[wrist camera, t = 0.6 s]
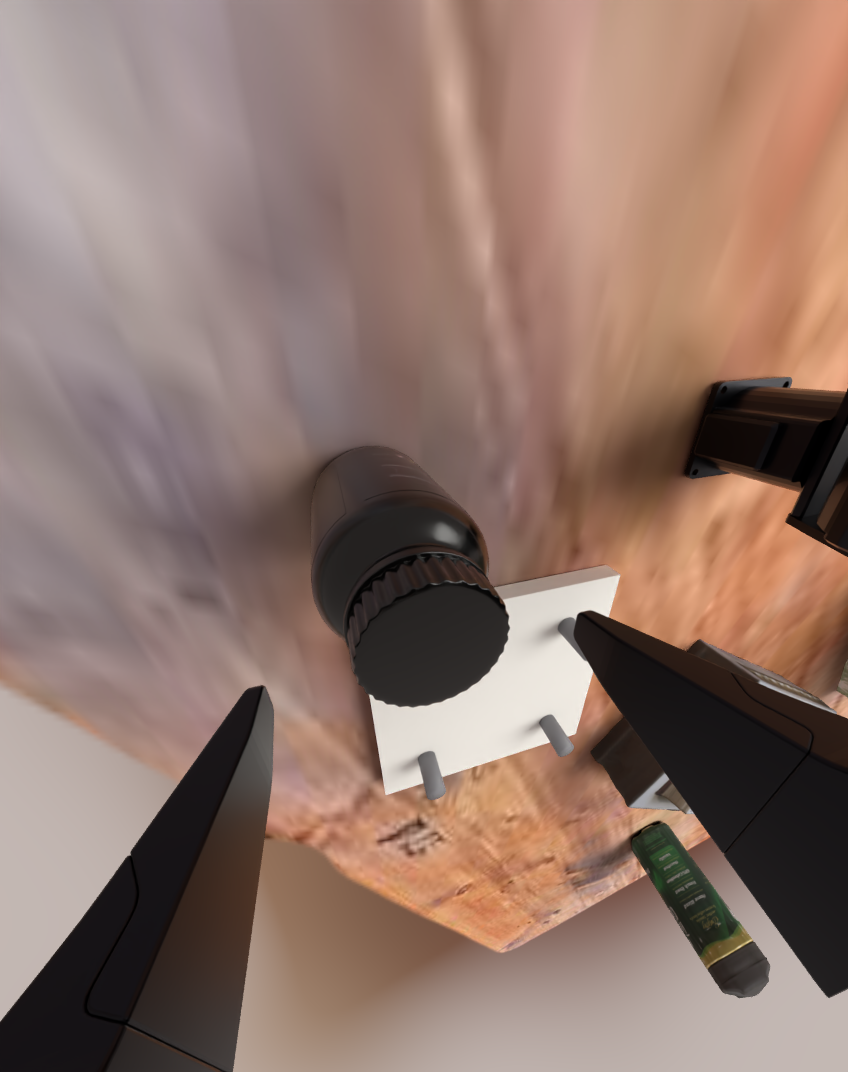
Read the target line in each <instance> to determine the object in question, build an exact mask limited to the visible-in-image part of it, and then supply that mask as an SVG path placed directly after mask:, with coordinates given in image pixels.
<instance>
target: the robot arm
mask: <svg viewBox="0 0 848 1072" xmlns="http://www.w3.org/2000/svg"><path fill="white" fill-rule="evenodd" d="M791 384H792V378H791V377H774V378H760V379H746V380H732V381H720V382H717V383H716V384H715V385H714V387H713V388H712V391H711V394H710V397H709V400H708V403H707V406H706V409H705V412H704V415H703V418H702V421H701V424H700V427H699V430H698V433H697V436H696V439H695V442H694V445H693V448H692V451H691V454H690V457H689V460H688V463H687V466H686V469H685V473H684V475H685V476H686V477H688V478H691V479H695V478H702V477H708V476H715V475H722V474H729V473H733V474H736V475H740V476H743V477H747V478H751V479H754V480H758V481H761V482H765V483H768V484H772V485H776V486H779V487H783V488H786V489H790V490H793V491H797V492H800V495H799V497H798V499H797V501H796V503H795V505H794V508H793V510H792V512H791V513H789V514H788V516H787V518H786V521H785V522H786V523H787V524H789V525H791V526H793V527H795V528H796V529H798V530H800V531H801V532H803V533H805V534H807V535H808V536H810V537H812V538H814V539H816V540H818V541H819V542H821V543H823V544H825V545H827V546H828V547H830V548H832V549H834V550H836V551H838V552H839V553H841V554H843V555H845V556H847V557H848V389H847V392H842V391H827V390H812V389H796V388H790V386H791ZM573 636H574V639H575V641H576V643H577V645H578V646H579V648H580V650H581V651H582V653H583V655H584V657H585V658H586V660H587V662H588V663H589V665H590V667H591V668H592V670H593V672H594V674H595V675H596V677H597V679H598V680H599V682H600V683H601V685H602V686H603V688H604V689H605V691H606V692H607V694H608V695H609V696H610V698H611V699H612V701H613V702H614V703H615V705H616V706H617V708H618V709H619V710H620V712H621V713H622V714H623V716H624V717H625V719H626V720H627V721H628V723H629V724H630V726H631V727H632V728H633V730H634V731H635V732H636V734H637V735H638V737H639V738H640V739H641V741H642V742H643V744H644V745H645V746H646V748H647V749H648V750H649V752H650V753H651V755H652V756H653V757H654V759H655V760H656V762H657V763H658V764H659V766H660V767H661V768H662V770H663V771H664V773H665V774H666V775H667V777H668V778H669V780H670V781H671V782H672V784H673V785H674V787H675V788H676V789H677V791H678V792H679V793H680V795H681V796H682V798H683V799H684V800H685V802H686V803H687V805H688V806H689V807H690V809H691V810H692V811H693V813H694V814H695V816H696V817H697V818H698V820H699V821H700V823H701V824H702V825H703V827H704V828H705V829H706V831H707V832H708V834H709V835H710V836H711V838H712V839H713V840H714V842H715V843H716V845H717V846H718V847H719V849H720V850H721V852H722V853H724V856H725V858H726V859H727V860H728V861H729V863H730V864H731V866H732V867H733V868H734V870H735V871H736V873H737V874H738V876H739V877H740V878H741V880H742V881H743V882H744V884H745V885H746V887H747V888H748V889H749V891H750V892H751V894H752V895H753V896H754V897H755V899H756V900H757V902H758V903H759V905H760V906H761V907H762V909H763V910H764V911H765V913H766V914H767V916H768V917H769V919H770V920H771V921H772V923H773V924H774V925H775V927H776V928H777V929H778V931H779V932H780V934H781V935H782V936H783V938H784V939H785V941H786V942H787V943H788V945H789V946H790V947H791V949H792V950H793V952H794V953H795V955H796V956H797V957H798V959H799V960H800V961H801V963H802V964H803V966H804V967H805V968H806V970H807V971H808V973H809V974H810V975H811V977H812V978H813V980H814V981H815V982H816V983H817V985H818V986H819V987H820V988H821V990H822V991H823V992H824V993H825V995H826V996H827V997H828V998H830V997H832V996H835V995H837V994H839V993H841V992H843V991H845V990H847V989H848V719H847V718H845V717H842V716H840V715H837V714H834V713H832V712H829V711H827V710H824V709H821V708H819V707H816V706H814V705H811V704H808V703H806V702H803V701H801V700H798V699H796V698H793V697H791V696H788V695H786V694H783V693H781V692H778V691H775V690H773V689H771V688H768V687H766V686H764V685H761V684H759V683H757V682H754V681H752V680H750V679H747V678H745V677H743V676H741V675H738V674H736V673H734V672H729V670H727V669H725V668H722V667H720V666H718V665H715V664H713V663H711V662H709V661H706V660H704V659H702V658H700V657H697V656H695V655H693V654H690V653H688V652H686V651H684V650H681V649H679V648H677V647H675V646H672V645H670V644H668V643H665V642H663V641H661V640H659V639H656V638H654V637H652V636H650V635H647V634H645V633H643V632H641V631H638V630H636V629H634V628H631V627H629V626H627V625H625V624H622V623H620V622H618V621H616V620H613V619H611V618H609V617H606V616H604V615H602V614H600V613H597V612H595V611H592V610H588V611H583V612H580V613H578V615H577V617H576V622H575V626H574V631H573ZM273 732H274V709H273V705H272V702H271V700H270V697H269V694H268V691H267V689H266V687H265V686H263V685H261V686H256V687H252V688H248V689H247V690H246V691H245V692H244V693H243V694H242V696H241V697H240V699H239V700H238V701H237V703H236V704H235V706H234V707H233V708H232V710H231V711H230V713H229V714H228V715H227V717H226V718H225V720H224V721H223V722H222V724H221V725H220V727H219V728H218V729H217V731H216V732H215V734H214V735H213V737H212V738H211V739H210V741H209V742H208V744H207V745H206V746H205V748H204V749H203V751H202V752H201V753H200V755H199V756H198V758H197V759H196V760H195V762H194V763H193V765H192V766H191V767H190V769H189V770H188V772H187V773H186V774H185V776H184V777H183V779H182V780H181V781H180V783H179V784H178V786H177V787H176V788H175V790H174V791H173V793H172V794H171V796H170V797H169V798H168V800H167V801H166V803H165V804H164V805H163V807H162V808H161V810H160V811H159V812H158V814H157V815H156V817H155V818H154V819H153V821H152V822H151V824H150V825H149V826H148V828H147V829H146V831H145V832H144V833H143V835H142V836H141V838H140V839H139V840H138V842H137V843H136V845H135V846H134V847H133V849H132V851H131V856H127V857H126V858H125V860H124V861H123V863H122V864H121V865H120V867H119V868H118V870H117V871H116V872H115V874H114V876H113V877H112V878H111V879H110V881H109V882H108V884H107V885H106V886H105V888H104V889H103V890H102V892H101V893H100V894H99V896H98V897H97V899H96V900H95V901H94V903H93V904H92V906H91V907H90V908H89V910H88V911H87V912H86V913H85V915H84V916H83V918H82V919H81V920H80V922H79V923H78V924H77V925H76V927H75V928H74V929H73V931H72V932H71V933H70V934H69V936H68V937H67V938H66V940H65V941H64V942H63V944H62V945H61V946H60V947H59V949H58V950H57V951H56V952H55V954H54V955H53V956H52V957H51V959H50V960H49V961H48V963H47V964H46V965H45V966H44V968H43V969H42V970H41V971H40V973H39V974H38V975H37V977H36V978H35V979H34V980H33V981H32V983H31V984H30V985H29V986H28V988H27V989H26V990H25V991H24V993H23V994H22V995H21V996H20V998H19V999H18V1000H17V1002H16V1003H15V1004H14V1005H13V1006H12V1008H11V1009H10V1010H9V1011H8V1013H7V1014H6V1015H5V1016H4V1018H3V1019H2V1020H1V1021H0V1072H233V1066H234V1059H235V1051H236V1044H237V1037H238V1030H239V1022H240V1015H241V1007H242V1000H243V992H244V985H245V977H246V970H247V963H248V956H249V948H250V940H251V934H252V925H253V919H254V911H255V904H256V896H257V889H258V882H259V875H260V867H261V860H262V852H263V845H264V838H265V830H266V823H267V815H268V808H269V801H270V793H271V785H272V770H273Z"/></svg>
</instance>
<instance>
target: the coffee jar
mask: <svg viewBox="0 0 848 1072" xmlns="http://www.w3.org/2000/svg"><path fill="white" fill-rule="evenodd" d="M631 845H632V850H633V852H634V854H635V856H636V857H637V859H638V860H639V862H640V864H641V865H642V867H643V868H644V870H645V872H646V873H647V875H648V876H649V878H650V879H651V881H652V883H653V884H654V886H655V887H656V889H657V891H658V892H659V894H660V896H661V897H662V899H663V900H664V902H665V904H666V905H667V907H668V908H669V910H670V912H671V913H672V915H673V916H674V918H675V920H676V921H677V923H678V924H679V926H680V928H681V929H682V931H683V932H684V934H685V935H686V937H687V938H688V940H689V942H690V943H691V945H692V946H693V948H694V949H695V951H696V952H697V954H698V956H699V957H700V959H701V960H702V962H703V964H704V965H705V967H706V968H707V969H708V971H709V973H710V974H711V976H712V977H713V979H714V980H715V982H716V983H717V984H718V986H719V988H720V989H721V991H722V992H723V993H725V994H729V995H735V996H737V997H738V998H743V997H752V996H755V995H757V994H759V993H760V991H762V989H763V988H764V987H765V986H766V984H767V983H768V982H769V978H768V974H769V970H770V964H769V963H768V961H767V958H766V957H765V956H764V955H763V953H762V952H761V951H760V949H759V948H758V946H757V945H756V943H755V942H753V940H752V938H751V937H750V936H749V934H748V933H747V932H746V930H745V929H744V928H743V927H742V925H741V924H740V922H739V921H738V920H737V918H736V917H735V916H734V914H733V913H732V912H731V910H730V909H729V908H728V906H727V905H726V904H725V902H724V901H723V900H722V898H721V897H720V896H719V894H718V893H717V891H716V890H715V889H714V887H713V886H712V885H711V883H710V882H709V881H708V879H707V878H706V876H705V875H704V874H703V873H702V871H701V870H700V868H699V867H698V866H697V864H696V863H695V862H694V860H693V859H692V857H691V856H690V855H689V853H688V852H687V851H686V849H685V848H684V846H683V845H682V844H681V842H680V841H679V840H678V838H677V837H676V835H675V834H674V833H673V831H672V830H671V829H670V827H669V826H668V825H667V824H665V823H663V822H662V823H659V824H657V825H655V826H652V825H650V826H648V827H646V828H645V829H643V830H642V832H641V834H639V835H638V836H637V837H634V838H633V840H632V843H631Z"/></svg>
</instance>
